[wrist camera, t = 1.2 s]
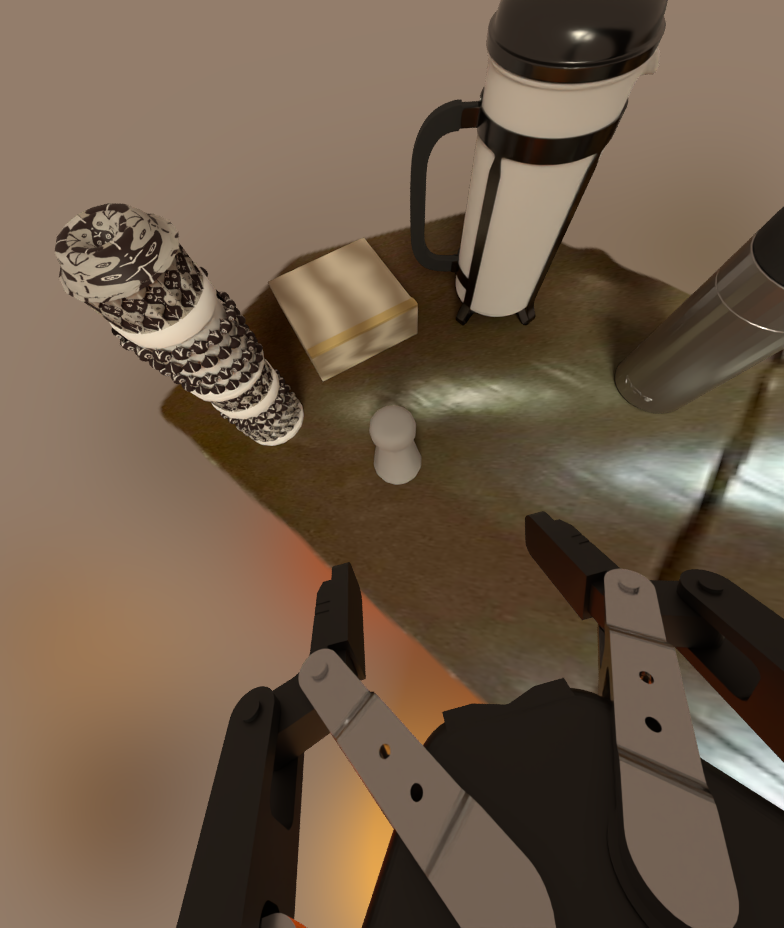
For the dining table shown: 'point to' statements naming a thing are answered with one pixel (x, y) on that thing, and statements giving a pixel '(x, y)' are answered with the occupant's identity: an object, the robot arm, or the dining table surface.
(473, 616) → the dining table surface
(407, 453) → the salt shaker
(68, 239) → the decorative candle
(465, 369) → the dining table surface
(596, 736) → the robot arm
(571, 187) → the coffee press
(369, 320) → the wood block
